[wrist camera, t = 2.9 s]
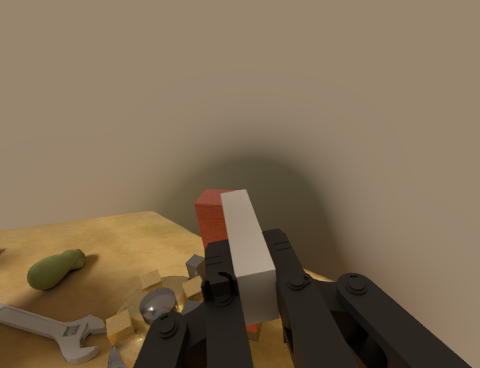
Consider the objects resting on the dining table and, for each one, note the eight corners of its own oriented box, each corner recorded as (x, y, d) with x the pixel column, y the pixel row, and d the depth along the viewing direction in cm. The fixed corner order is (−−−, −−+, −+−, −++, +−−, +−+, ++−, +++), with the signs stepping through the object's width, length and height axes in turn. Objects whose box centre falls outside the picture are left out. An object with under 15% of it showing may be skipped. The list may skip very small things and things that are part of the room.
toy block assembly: (106, 376, 34) (14, 223, 23) (157, 298, 44) (109, 166, 33) (252, 421, 28) (218, 245, 17) (272, 319, 38) (259, 168, 27)
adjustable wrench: (-16, 320, 46) (-22, 313, 46) (23, 291, 51) (18, 284, 51) (83, 371, 36) (78, 363, 36) (118, 329, 42) (115, 321, 41)
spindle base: (99, 337, 40) (75, 293, 36) (200, 279, 48) (189, 237, 44) (127, 463, 27) (94, 418, 23) (259, 356, 35) (252, 307, 31)
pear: (16, 267, 48) (70, 240, 57) (25, 291, 50) (76, 262, 59) (34, 274, 46) (87, 245, 55) (43, 299, 48) (93, 267, 56)
